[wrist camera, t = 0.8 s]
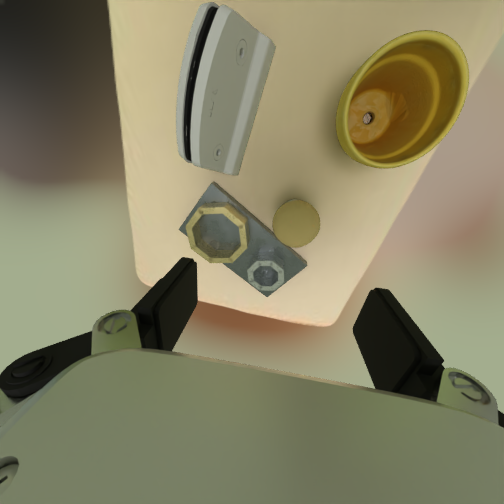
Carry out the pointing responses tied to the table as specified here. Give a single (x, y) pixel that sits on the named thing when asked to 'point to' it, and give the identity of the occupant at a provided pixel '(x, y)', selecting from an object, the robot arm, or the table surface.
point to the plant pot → (403, 99)
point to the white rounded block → (220, 88)
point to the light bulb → (296, 223)
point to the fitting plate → (239, 242)
